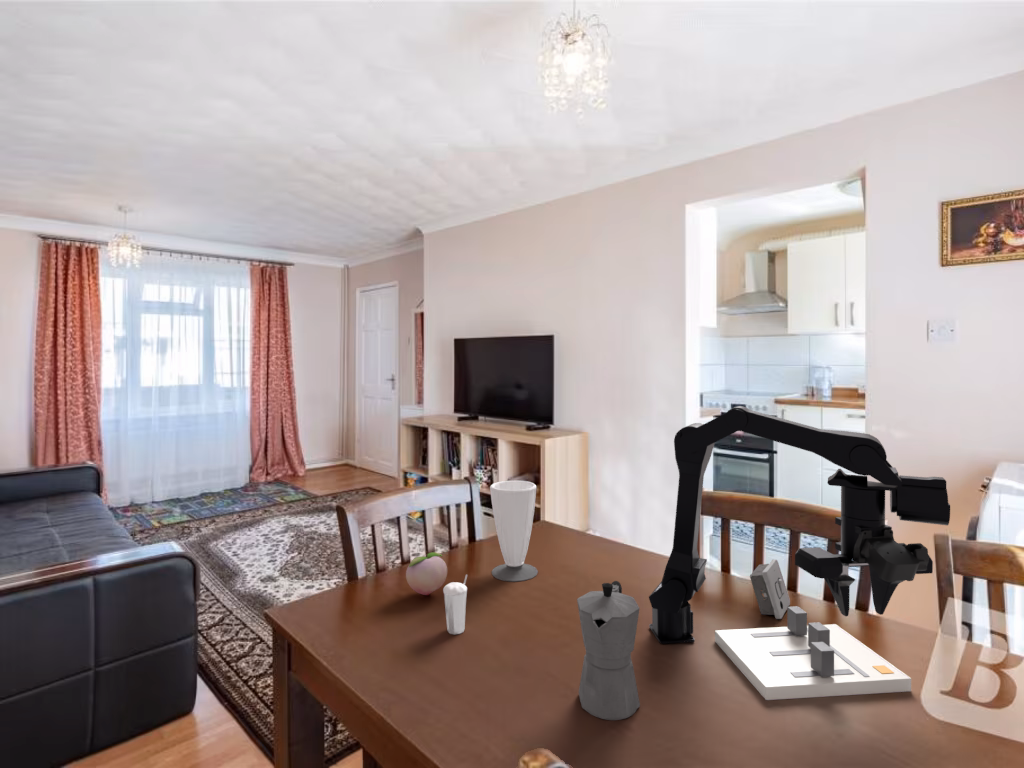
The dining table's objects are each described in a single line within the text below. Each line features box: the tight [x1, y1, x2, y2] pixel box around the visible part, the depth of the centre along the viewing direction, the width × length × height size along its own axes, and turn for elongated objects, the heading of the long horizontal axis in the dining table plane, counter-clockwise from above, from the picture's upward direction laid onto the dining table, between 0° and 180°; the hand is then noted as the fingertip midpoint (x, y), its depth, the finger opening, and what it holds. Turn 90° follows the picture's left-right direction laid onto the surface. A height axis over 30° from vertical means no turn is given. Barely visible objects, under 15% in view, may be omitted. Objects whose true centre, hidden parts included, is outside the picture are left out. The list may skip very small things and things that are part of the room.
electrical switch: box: [749, 559, 791, 620], centre depth 108 cm, size 9×5×9 cm, turn 141°
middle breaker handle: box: [807, 621, 830, 648], centre depth 88 cm, size 2×3×4 cm
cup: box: [489, 479, 539, 583], centre depth 129 cm, size 12×12×22 cm
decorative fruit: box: [405, 550, 448, 596], centre depth 117 cm, size 9×8×10 cm
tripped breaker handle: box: [811, 642, 834, 677], centre depth 82 cm, size 2×3×4 cm
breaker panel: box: [714, 623, 912, 701], centre depth 88 cm, size 23×17×2 cm
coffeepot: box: [576, 580, 641, 721], centre depth 80 cm, size 15×9×18 cm, turn 159°
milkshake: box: [442, 574, 468, 636], centre depth 102 cm, size 4×5×10 cm
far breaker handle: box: [786, 605, 808, 636], centre depth 94 cm, size 2×3×4 cm
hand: (861, 614), depth 82 cm, fingers open, 5 cm apart
